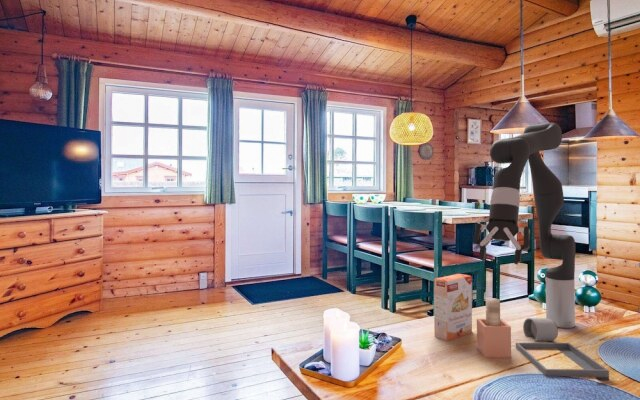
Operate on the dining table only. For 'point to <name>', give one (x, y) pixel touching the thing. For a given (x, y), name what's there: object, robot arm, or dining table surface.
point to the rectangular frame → (571, 352)
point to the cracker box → (452, 306)
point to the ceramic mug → (540, 329)
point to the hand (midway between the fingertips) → (499, 262)
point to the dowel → (492, 312)
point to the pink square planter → (494, 339)
